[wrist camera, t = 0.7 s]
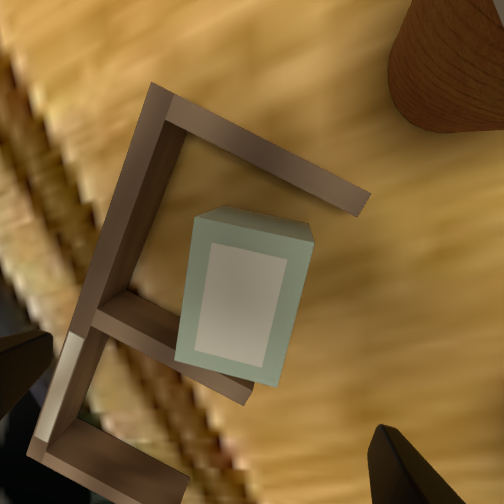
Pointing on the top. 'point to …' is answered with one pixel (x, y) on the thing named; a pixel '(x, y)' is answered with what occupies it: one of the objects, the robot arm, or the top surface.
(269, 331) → the frame block
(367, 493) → the top surface
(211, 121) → the walnut comb rail
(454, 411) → the top surface
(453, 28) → the disposable coffee cup
